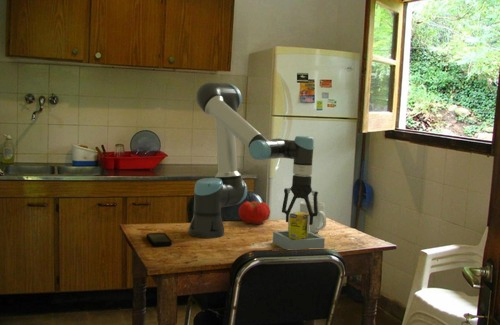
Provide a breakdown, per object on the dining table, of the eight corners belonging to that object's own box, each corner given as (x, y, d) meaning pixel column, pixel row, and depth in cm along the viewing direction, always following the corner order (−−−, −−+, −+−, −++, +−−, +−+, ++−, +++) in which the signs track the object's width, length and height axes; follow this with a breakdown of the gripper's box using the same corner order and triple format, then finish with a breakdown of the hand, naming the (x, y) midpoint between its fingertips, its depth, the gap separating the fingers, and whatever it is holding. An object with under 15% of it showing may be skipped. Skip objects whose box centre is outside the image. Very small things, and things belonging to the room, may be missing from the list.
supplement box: (301, 242, 219) (303, 215, 217) (288, 240, 222) (289, 213, 220) (308, 239, 224) (309, 213, 222) (294, 237, 227) (296, 211, 225)
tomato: (273, 221, 267) (275, 201, 266) (260, 227, 252) (261, 206, 251) (247, 217, 273) (248, 197, 271) (232, 223, 258) (233, 202, 257)
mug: (333, 235, 245) (335, 206, 243) (314, 237, 239) (316, 207, 237) (312, 227, 257) (313, 200, 256) (293, 229, 251) (295, 201, 249)
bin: (290, 252, 213) (291, 240, 212) (272, 242, 227) (273, 231, 226) (323, 249, 219) (324, 238, 219) (304, 240, 233) (305, 229, 232)
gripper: (275, 174, 219) (272, 230, 221) (326, 178, 214) (322, 236, 216) (279, 171, 226) (276, 226, 228) (328, 176, 221) (324, 232, 224)
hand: (298, 231), depth 222 cm, fingers closed on supplement box, 7 cm apart
